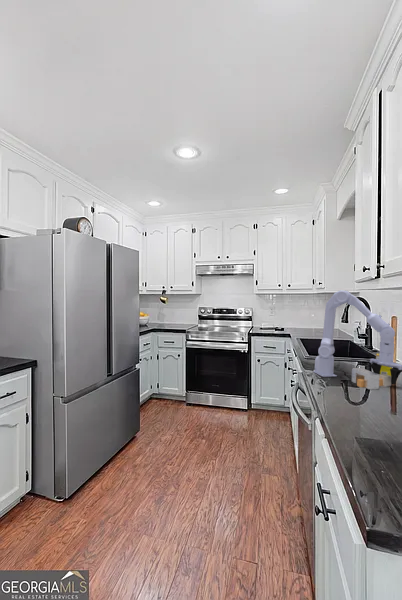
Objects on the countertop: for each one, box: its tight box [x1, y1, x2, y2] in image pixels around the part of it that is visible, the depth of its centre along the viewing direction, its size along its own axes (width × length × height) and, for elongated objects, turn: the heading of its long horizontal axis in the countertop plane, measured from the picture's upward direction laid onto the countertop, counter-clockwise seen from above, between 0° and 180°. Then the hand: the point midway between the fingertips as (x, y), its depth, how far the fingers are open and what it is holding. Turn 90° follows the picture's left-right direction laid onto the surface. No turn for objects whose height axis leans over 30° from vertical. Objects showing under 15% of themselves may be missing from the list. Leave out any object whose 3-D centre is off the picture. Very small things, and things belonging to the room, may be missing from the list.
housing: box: [351, 367, 380, 390], centre depth 141 cm, size 12×5×6 cm, turn 10°
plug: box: [356, 374, 392, 388], centre depth 141 cm, size 4×17×4 cm, turn 106°
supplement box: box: [375, 353, 393, 376], centre depth 158 cm, size 6×6×11 cm
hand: (385, 381), depth 142 cm, fingers open, 7 cm apart
